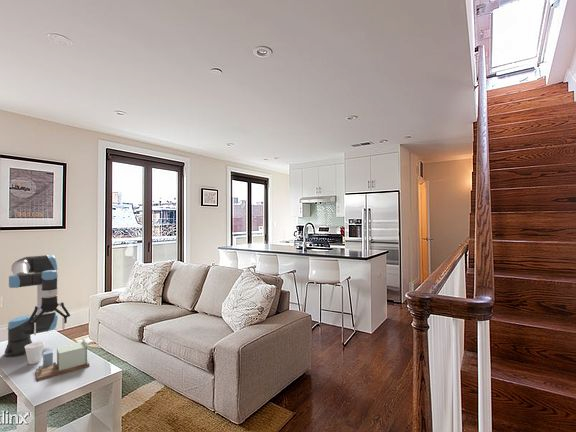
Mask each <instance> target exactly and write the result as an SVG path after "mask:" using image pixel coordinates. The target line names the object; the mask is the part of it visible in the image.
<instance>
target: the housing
mask: <svg viewBox="0 0 576 432" xmlns="http://www.w3.org/2000/svg"><path fill="white" fill-rule="evenodd" d="M87 360H88V342H87V340H86V338H85V337H84V336H82V341H78V342H75V343H70V344H66V345H61V346H58V347H56V364H57V365H58V364H59V371H61V370H65V369H68V368H72V367H76V366H79V365H83V364H87Z"/></svg>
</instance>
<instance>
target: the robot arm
mask: <svg viewBox="0 0 576 432" xmlns="http://www.w3.org/2000/svg"><path fill="white" fill-rule="evenodd" d="M10 269H11V270H10V271H11V272H12V275H9V276H8V288H9V289H18V288H23V287H24V288H25V287H26V288H27V287H31V286H33V287H35V286H36V289H37V291H36V293H37V294H36V295H37V296H36V300H37V301H36V304H37V305H36V306H34V310H33V312H32V314H31V315H30V314H29V315H28V314H27V315H21V316H18V317H15V318H12V319H11V320H9V322H8V324H7V345H6V347H5V350H4V357H8V358H10V357H13V358H14V357H18V356H19V357H20V356H23V355H26V351H25V348H24V347H25V346H26V345H28V344H31V343H33V341H32V338H31V336H32V335H34V336H36V335H37V334H40V333H45V332H50V331H53V330H54V331H55V329H56V328H57V325H58V317H59V315H60V316H61V317H62V318H61V319H62V320H61V321H62V324H61V325H62V330H65V326H66V325H65V324H67V322H68V321H67V319H68V318H70V316H71V314H70V313H69V311H68V309H67V308H66V307H65V304H64V301H61V302H59V303H58V263H57V258H56V256H55V255H53V254H50V255H49V254H47V255H32V256H30V255H29V256H25V257H22V258H19V259H17V260H15V261H14V263H12V265H11V268H10ZM58 306H59V307H62V309H63V311H64V312H65V313H64V312H62V311H61V310H59V309H58Z"/></svg>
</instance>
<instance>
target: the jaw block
mask: <svg viewBox="0 0 576 432" xmlns="http://www.w3.org/2000/svg"><path fill="white" fill-rule="evenodd" d="M53 363H54V351H53V350H48V351H42V366H43V367H46V366H50V365H53Z"/></svg>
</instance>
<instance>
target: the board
mask: <svg viewBox="0 0 576 432" xmlns="http://www.w3.org/2000/svg"><path fill="white" fill-rule="evenodd" d="M88 367H90V362H89V361H88V359H87V364H83V365H79V366H76V367H72V368H68V369H65V370H61V371H59V364H58V365H57V361H56V362H55V361H53V365H50V366H46V367H42V366H41V365H39V366H38V368H35V375H36V381H37V382H38V381H41V380H45V379H48V378H49V379H50V378H53V377H56V376H59V375H63V374H67V373H70V372H71V373H72V372H74V371H78V370H81V369H85V368H88Z"/></svg>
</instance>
